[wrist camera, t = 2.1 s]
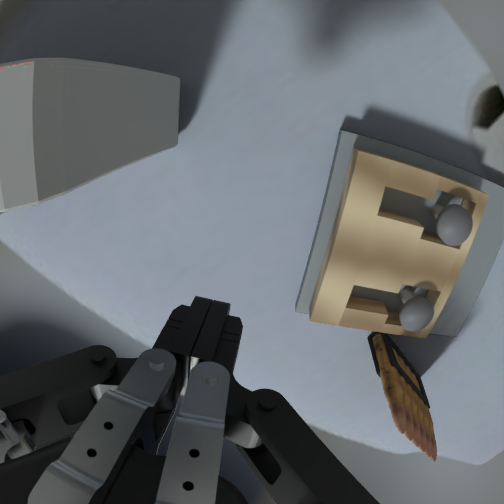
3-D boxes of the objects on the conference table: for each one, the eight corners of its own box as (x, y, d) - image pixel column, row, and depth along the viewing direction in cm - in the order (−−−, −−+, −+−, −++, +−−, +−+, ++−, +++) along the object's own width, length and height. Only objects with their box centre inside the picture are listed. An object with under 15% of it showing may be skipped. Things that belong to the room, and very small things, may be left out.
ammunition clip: (420, 377, 32) (445, 459, 21) (407, 384, 33) (428, 466, 22) (382, 327, 29) (409, 424, 19) (366, 337, 30) (387, 434, 19)
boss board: (339, 129, 22) (351, 134, 18) (511, 191, 22) (541, 207, 17) (295, 304, 29) (294, 337, 25) (452, 329, 29) (467, 359, 24)
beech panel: (353, 147, 21) (358, 150, 20) (476, 188, 21) (488, 194, 19) (309, 306, 27) (309, 320, 26) (420, 325, 27) (426, 338, 25)
